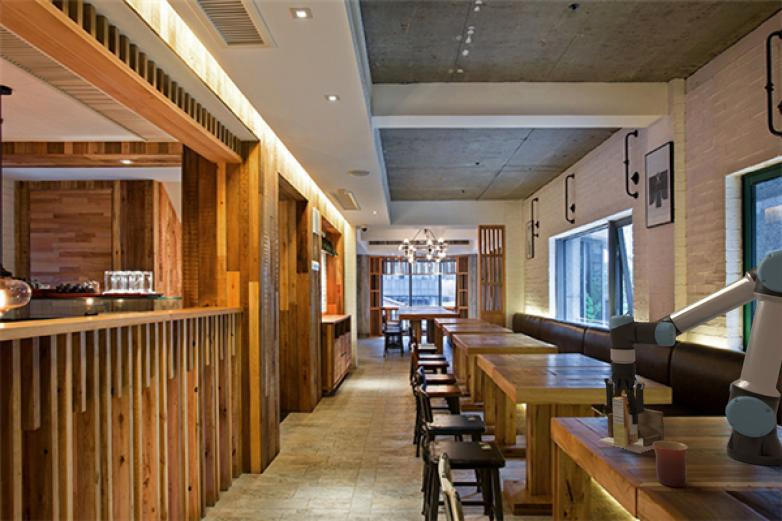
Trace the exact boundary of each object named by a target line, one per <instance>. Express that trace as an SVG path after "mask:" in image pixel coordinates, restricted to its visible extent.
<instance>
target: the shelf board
mask: <svg viewBox="0 0 782 521" xmlns="http://www.w3.org/2000/svg"><path fill="white" fill-rule="evenodd" d="M599 443H601V444H605V445H607V446H608V445H609V446H610V447H611V446H612V447H614V446H615V448H618V447H620V448H619V449H622V448H624V449H623V450H625V449H627V450H626V451H629V450H630V451H629V452H633V453H637V454H642V452H643V453H646V452H649V451H652V450H654V447H653V445H651V446H648V447H644V446H643V438H638V442H636V443H633V444H631V445H629V446H626V447H623V446H619V445H614V437H612V438H610V437H608V436H607V437H604V438H601V439H599ZM651 449H652V450H651ZM648 450H649V451H648ZM645 451H646V452H645Z"/></svg>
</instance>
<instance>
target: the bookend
mask: <svg viewBox="0 0 782 521" xmlns="http://www.w3.org/2000/svg"><path fill="white" fill-rule="evenodd" d="M664 422H665V420H664V412H663V411H659V410H655V409H648V408H644V412H643V413H640V414H638V424H637V429H638V438H643V446H644V447H648V446H651V445H653V444H652V443H653V442H655V441H665V424H664Z"/></svg>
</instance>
